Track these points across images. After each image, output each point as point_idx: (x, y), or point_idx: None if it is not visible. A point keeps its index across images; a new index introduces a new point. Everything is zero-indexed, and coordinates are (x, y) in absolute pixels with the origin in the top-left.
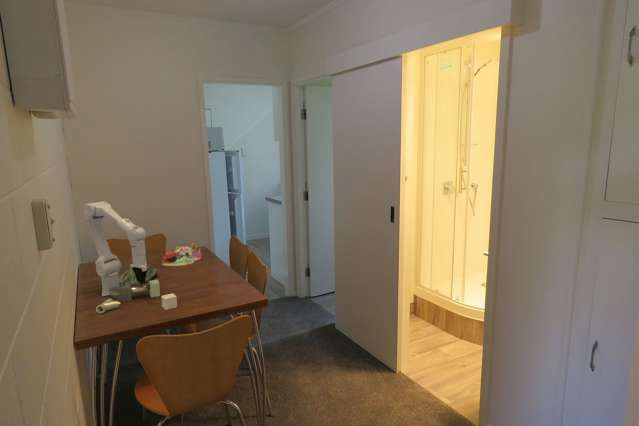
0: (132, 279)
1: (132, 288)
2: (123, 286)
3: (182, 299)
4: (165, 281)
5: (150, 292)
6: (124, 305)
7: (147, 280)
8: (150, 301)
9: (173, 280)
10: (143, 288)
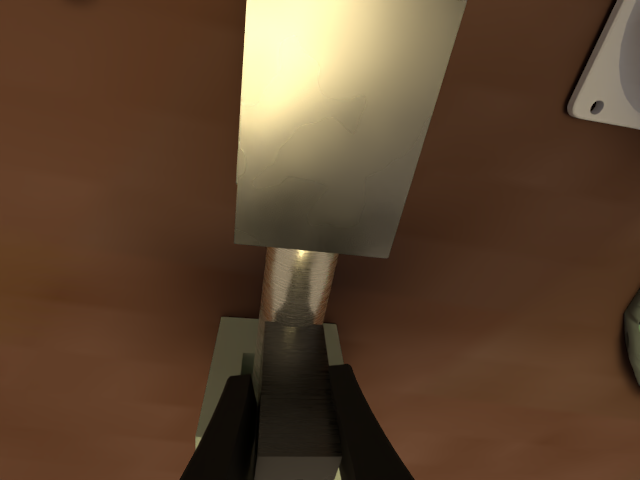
0: None
1: (286, 251)
2: (376, 154)
3: (52, 455)
4: (515, 430)
5: (224, 352)
6: (107, 56)
7: (631, 363)
8: (114, 298)
9: (488, 460)
10: (257, 343)
